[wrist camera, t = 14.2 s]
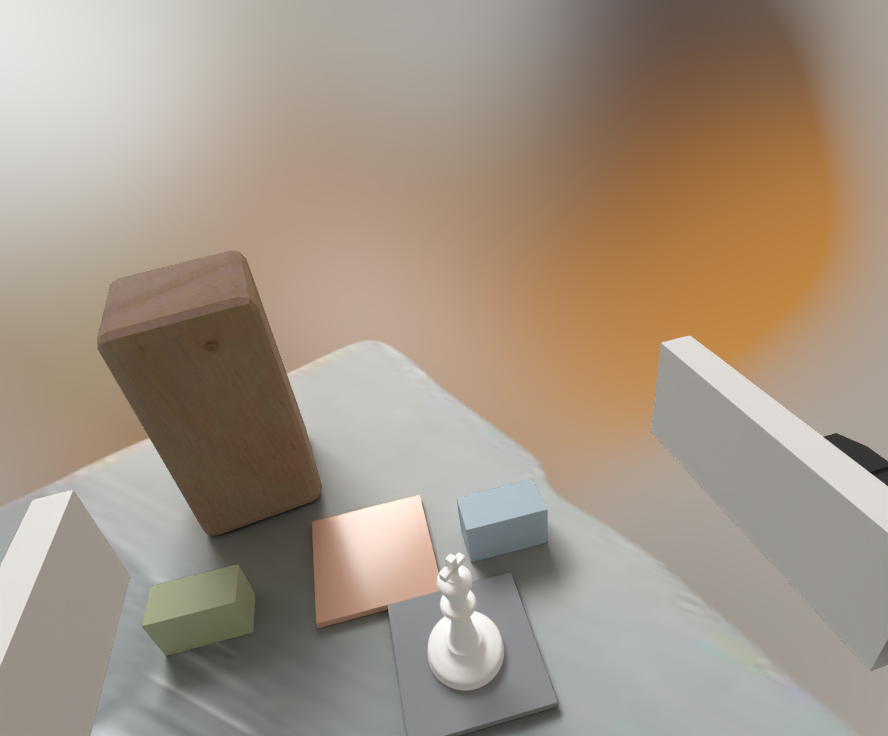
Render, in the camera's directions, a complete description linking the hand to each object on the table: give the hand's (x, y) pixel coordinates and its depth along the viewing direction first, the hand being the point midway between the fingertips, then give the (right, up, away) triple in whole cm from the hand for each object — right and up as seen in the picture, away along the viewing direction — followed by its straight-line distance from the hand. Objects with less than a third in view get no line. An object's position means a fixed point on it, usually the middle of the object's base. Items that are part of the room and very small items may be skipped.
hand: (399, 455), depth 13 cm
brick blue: (+6, -11, +31) cm, 33 cm away
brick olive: (-16, -16, +28) cm, 36 cm away
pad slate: (+2, -17, +24) cm, 29 cm away
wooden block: (-15, -8, +38) cm, 42 cm away
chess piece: (+2, -16, +24) cm, 29 cm away
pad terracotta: (-4, -13, +31) cm, 33 cm away
